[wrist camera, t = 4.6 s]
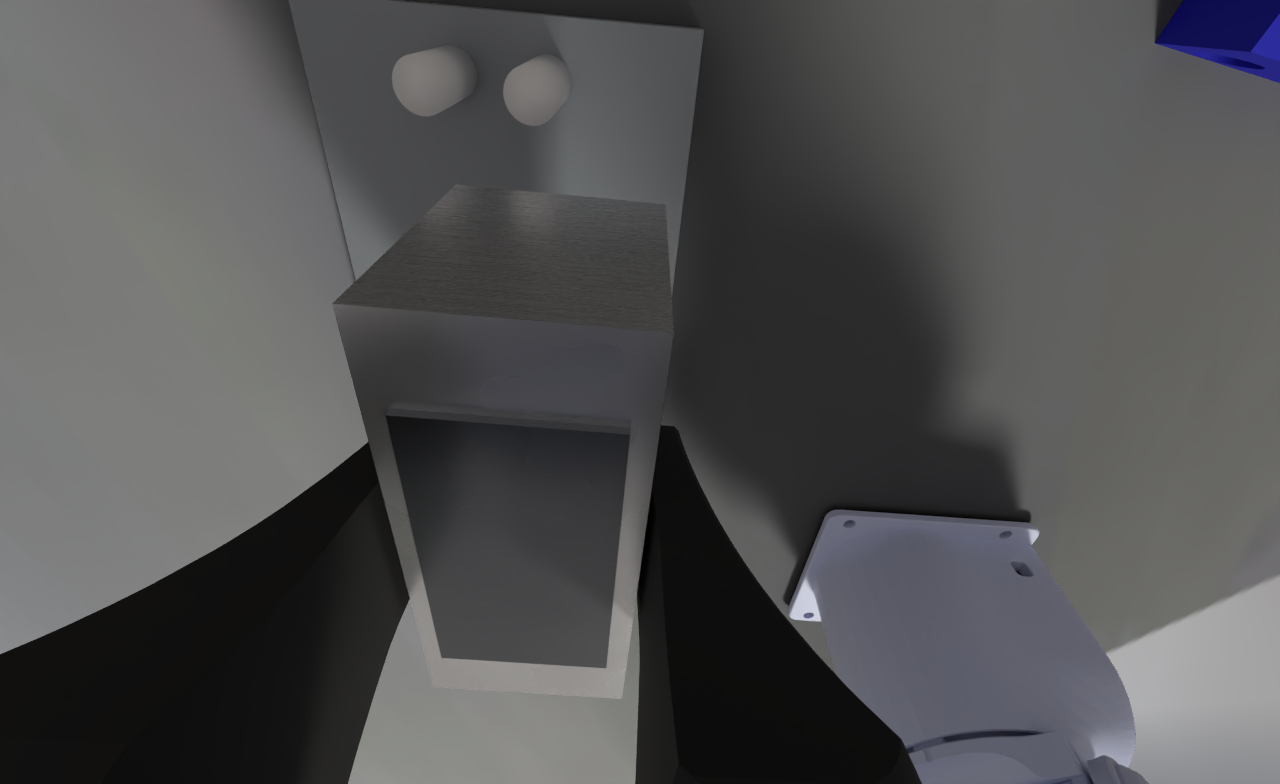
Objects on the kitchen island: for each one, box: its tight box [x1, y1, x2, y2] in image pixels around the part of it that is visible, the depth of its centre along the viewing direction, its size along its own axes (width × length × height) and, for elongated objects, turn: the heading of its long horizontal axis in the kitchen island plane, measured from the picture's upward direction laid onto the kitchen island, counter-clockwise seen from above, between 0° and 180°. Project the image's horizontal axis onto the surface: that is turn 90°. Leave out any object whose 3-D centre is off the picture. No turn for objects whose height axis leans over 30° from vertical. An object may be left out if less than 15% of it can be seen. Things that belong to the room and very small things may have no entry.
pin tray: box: [288, 0, 704, 296], centre depth 17 cm, size 10×16×4 cm, turn 176°
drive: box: [332, 184, 674, 699], centre depth 11 cm, size 4×9×5 cm, turn 175°
